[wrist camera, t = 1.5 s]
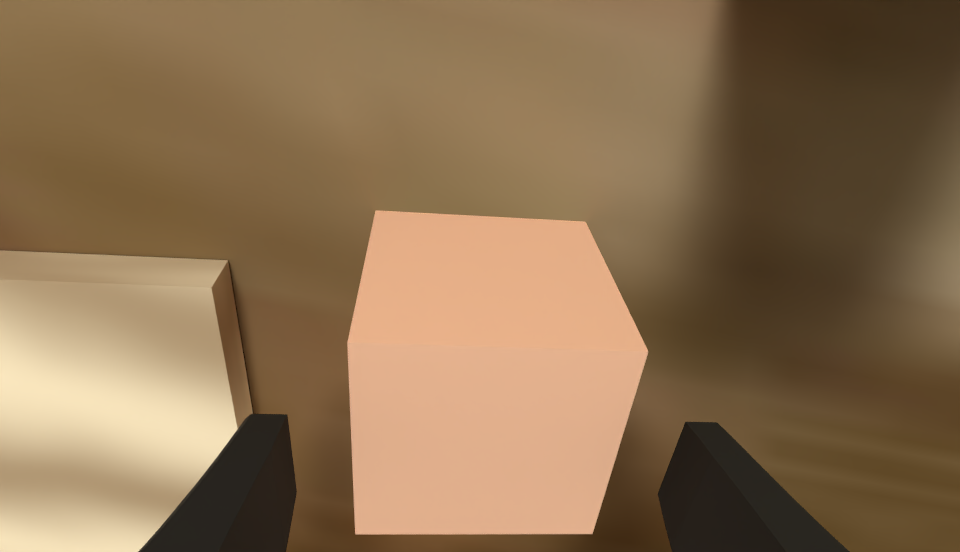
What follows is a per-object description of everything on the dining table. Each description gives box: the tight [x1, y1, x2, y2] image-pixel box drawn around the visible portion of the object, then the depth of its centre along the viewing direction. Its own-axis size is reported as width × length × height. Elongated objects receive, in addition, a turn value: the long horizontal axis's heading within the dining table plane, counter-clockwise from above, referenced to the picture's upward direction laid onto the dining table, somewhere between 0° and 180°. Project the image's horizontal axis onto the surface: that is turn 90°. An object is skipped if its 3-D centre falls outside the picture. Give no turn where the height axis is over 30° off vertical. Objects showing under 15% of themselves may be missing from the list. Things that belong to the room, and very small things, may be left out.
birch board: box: [0, 250, 253, 552], centre depth 16 cm, size 14×12×1 cm
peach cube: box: [348, 211, 648, 534], centre depth 13 cm, size 5×5×5 cm
